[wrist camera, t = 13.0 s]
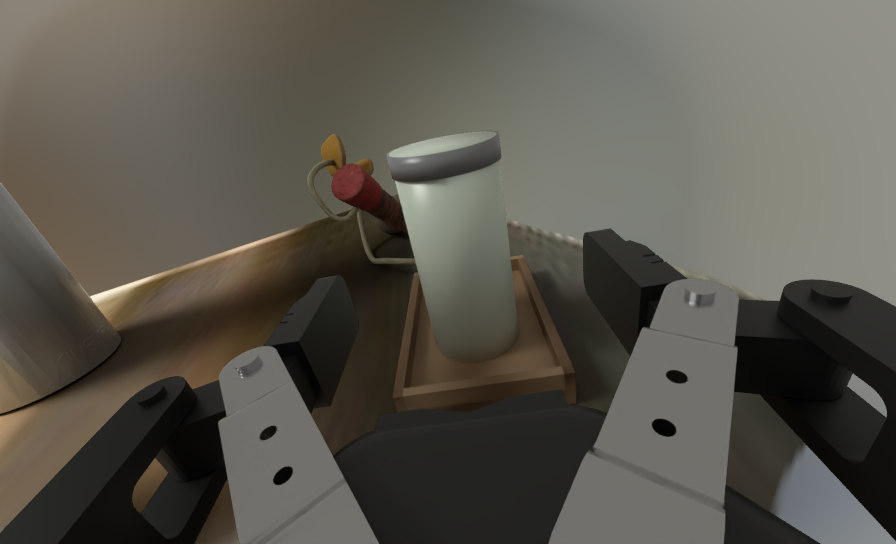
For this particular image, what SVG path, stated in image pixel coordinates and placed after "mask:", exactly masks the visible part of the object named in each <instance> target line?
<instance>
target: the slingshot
mask: <svg viewBox="0 0 896 544" xmlns="http://www.w3.org/2000/svg"><path fill="white" fill-rule="evenodd" d="M321 155H322V157H323V160H324V161H322V162H320V163H318V164H317V165H315V166H314V167H313V169H312V170H311V171H310V173H309V175H308V179H307V185H308V189H309V191H310V193H311V195H312V197H313V198H314V199H315V201H316V202H317V203H318V205H319V206H320V207H321V208H322V210H323V211H324V212H325V213H326V214H327V215H328V216H330V217H331V218H333V219H334V220H336V221H340V222H346V221H349V220H351V219H352V218H353V217H354V216H355V215H356V214H357V217H358V223H359V228H360V232H361V237H362V242H363V245H364V249H365V252H366V254H367V256H368V258H369V260H370V261H371V262H372V263H374V264H399V265H416V262H415V259H408V258H378V259H376V258H375V257H374V256H373V255H372V252H371V250H370V247H369V245H368V241H367V237H366V232H365V227H364V222H363V217H362V211H361V210H364V211H367V212H369V213H370V214H372V215H373V216H375V217H376V218H377V224H378V226H379V228H380V229H381V230H382V231H383V232H385V233H390V234H391V233H398V232H401V231H402V232H405V233H407V234H408V230H407V226H406V222H405V218H404V214H403V210H402V206H401V204H400V203H399V202H398V201H397V200H395V199H394V198H393V197H392V196H390V195H389V194H388V193H387V192H385V191H384V190H383V189H382V188H381V186H380V185H379V184H378V183H377V182H376V181H375V180H374V179H373V178H372V177H371V176H370V175H371V174H372V173H373V170H374V168H373V163H372V161H371V160H370V159H368V158H366V159H363V160H361V161H359V162H357V163H355V164H347V165H345V164H346V157H345V156H346V155H345V150H344V147H343V144H342V142H341V140H340V138H339V137H338V136H337V135H335V134H332V135H331V136H330V137H329V138H328V139H327V140H326V141H325V143H324V144H323V145H322V148H321ZM325 166H326V168H327V170H328V171H329V173H330V174H331V175H332V176H333V177H334V178H333V180H332V192H333V194H334V196H335V197H336V198H338V199H339V200H341V201H343V202H345V203H347V204H349V205H352V206H354V207H353V208H352V210H351V211H350V213H349V214H347V215H346V216H343V217H339V216H336V215H334V214H333V213H332V212H331V211H330V210H329V209H328V208H327V207H326V206H325V204H324V203H323V201H322V200H321V198H320V197H319V195H318V194H317V193H316V191H315V188H314V185H313V182H314V177H315V175H316V173H317V172H318V171H319V170H320V169H322V168H323V167H325Z"/></svg>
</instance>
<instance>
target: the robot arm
mask: <svg viewBox="0 0 896 544" xmlns="http://www.w3.org/2000/svg"><path fill="white" fill-rule="evenodd" d="M583 275H584V284H585V288H586V291H587V293H588V295H589V297H590V298H591V300H592V301H593V303H594V304H595V305H596V307H597V308H598V310H599V311H600V313H601V314H602V316H603V317H604V319H605V320H606V321H607V323H608V324H609V326H610V327H611V329H612V330H613V332H614V333H615V335H616V336H617V337H618V339H619V340H620V342H621V343H622V345H623V346H624V348H625V349H626V351H627V352H628V353H629V355H630V356H631V357H630V359H629V362H628V364H627V367H626V369H625V372H624V374H623V377H622V379H621V381H620V384H619V386H618V389H617V391H616V394H615V396H614V399H613V401H612V404H611V406H610V409H609V411H608V414H607V413H604V412H602V411H599V410H596V409H592V408H589V407H585V406H579V405H572V404H567V403H566V400H565V398H564V395H563V392H562V390H561V389H560V390H553V391H546V392H538V393H531V394H524V395H517V396H513V397H510V398H507V399H505V400H502V401H499V402H496V403H494V404H491V405H488V406H485V407H482V408H480V409H477V410H474V411H471V412H457V411H445V410H433V409H415V410H408V411H401V412H394V413H386V414H379V415H378V419H377V424H376V429H375V430H374V431H372V432H369V433H367V434H365V435H363V436H361V437H359V438H357V439H356V440H354V441H352V442H351V443H349V444H348V445H346V446H345V447H343V448H342V449H341V450H340V451H338V452H337V453H336V454H335V455H334V456H332V454H331V452H330V450H329V448H328V446H327V444H326V443H325V441H324V439H323V437H322V435H321V433H320V431H319V429H318V427H317V426H316V424H315V422H314V420H313V418H312V416H311V413H312V411H313V408H320V407H327V406H331V403H332V400H333V397H334V395H335V392H336V389H337V387H338V384H339V381H340V378H341V376H342V373H343V370H344V368H345V365H346V362H347V359H348V357H349V354H350V351H351V348H352V346H353V343H354V340H355V338H356V335H357V332H358V326H359V323H358V316H357V313H356V310H355V307H354V304H353V302H352V299H351V296H350V294H349V291H348V288H347V285H346V283H345V280H344V279H343V277H342V276H341V275H337V276H331V277H325V278H320V279H317V280H316V281H315V283H314V284H313V286H312V287H311V289H310V290H309V292H308V293H307V294H306V295H304V296H303V297H302V298H301V299H299V300H298V301H297V302H296V303H294V304H293V305H292V306H291V308H290V309H289V311H288V312H287V313H286V316H284V318H283V319H282V320H281V322H280V324H279V325H278V326H277V327H276V329H275V330H274V332H273V333H272V334H271V336H270V337H269V339H268V340H267V341H266V343H265V344H264V346H262V347H257V348H254V349H251V350H248V351H246V352H244V353H242V354H240V355H239V356H237V357H235V358H234V359H233V360H231V361H230V362H229V363H228V364H227V365H226V366H225V367H224V368H223V369H222V371H221V373H220V375H219V380H217V381H215V382H212V383H209V384H206V385H204V386H201V387H198V388H195V389H192V388H191V387H190V386H189V384H188V383H187V381H186V380H185V379H184V378H183V377H180V376H174V377H169V378H165V379H162V380H160V381H157V382H155V383H153V384H151V385H149V386H147V387H146V388H144V389H142V390H141V391H139V392H138V393H136V394H135V395H134V396H133V397H131V398H130V399H129V400H128V401H127V402H126V403H125V404H124V405H123V406H122V407H121V408H120V409H119V410H118V411H117V412H116V413H115V414H114V415H113V416H112V417H111V418H110V419H109V420H108V421H107V423H106V424H105V425H104V426H103V427H102V428H101V429H100V430H99V431H98V432H97V433H96V434H95V435H94V436H93V437H92V438H91V439H90V440H89V441H88V442H87V443H86V444H85V445H84V446H83V447H82V448H81V450H80V451H79V452H78V453H77V454H76V455H75V456H74V457H73V458H72V459H71V460H70V461H69V462H68V463H67V464H66V465H65V466H64V467H63V468H62V469H61V470H60V471H59V472H58V473H57V474H56V475H55V476H54V478H53V479H52V480H51V481H50V482H49V483H48V484H47V485H46V486H45V487H44V488H43V489H42V490H41V491H40V492H39V493H38V494H37V495H36V496H35V497H34V498H33V499H32V500H31V501H30V502H29V503H28V504H27V506H26V507H25V508H24V509H23V510H22V511H21V512H20V513H19V514H18V515H17V516H16V517H15V518H14V519H13V520H12V521H11V522H10V523H9V524H8V525H7V526H6V527H5V528H4V529H3V530H2V531H1V533H0V544H194V543H195V541H196V539H197V537H198V535H199V533H200V531H201V529H202V527H203V525H204V523H205V521H206V519H207V517H208V515H209V513H210V511H211V509H212V507H213V506H214V504H215V502H216V500H217V498H218V496H219V494H220V492H221V490H222V488H223V486H224V484H225V482H226V480H227V478H228V482H229V488H230V494H231V499H232V505H233V511H234V516H235V522H236V528H237V533H238V539H239V544H820V543H818V542H817V541H815V540H814V539H812V538H810V537H809V536H807V535H806V534H804V533H802V532H801V531H799V530H798V529H796V528H794V527H793V526H791V525H789V524H788V523H786V522H785V521H783V520H782V519H780V518H778V517H777V516H775V515H774V514H772V513H770V512H769V511H767V510H766V509H764V508H762V507H761V506H759V505H758V504H756V503H754V502H753V501H751V500H750V499H748V498H746V497H745V496H743V495H742V494H740V493H738V492H737V491H735V490H734V489H732V488H730V487H729V486H727V485H725V484H726V473H727V462H728V450H729V439H730V428H731V417H732V405H733V394H734V392H742V393H752V394H760V395H761V396H762V398H763V399H764V400H765V401H766V402H767V403H768V404H769V405H770V406H771V407H772V408H773V409H774V410H775V412H776V413H777V414H778V415H779V416H780V417H781V418H782V419H783V420H784V421H785V422H786V423H787V424H788V426H789V427H790V428H791V429H792V430H793V431H794V432H795V433H796V434H797V435H798V436H799V437H800V438H801V439H802V441H803V442H804V443H805V444H806V445H807V446H808V447H809V448H810V449H811V450H812V451H813V452H814V453H815V454H816V456H817V457H818V458H819V459H820V460H821V461H822V462H823V463H824V464H825V465H826V466H827V467H828V468H829V470H830V471H831V472H832V473H833V474H834V475H835V476H836V477H837V478H838V479H839V480H840V481H841V483H842V484H843V485H844V486H846V488H847V489H848V490H849V491H850V492H851V493H852V494H853V495H854V497H855V498H856V499H858V501H859V502H860V503H861V504H862V505H863V506H864V507H865V508H866V509H867V510H868V512H869V513H870V514H871V515H872V516H873V517H874V518H875V519H876V520H877V521H878V522H879V523H880V524H881V526H882V527H883V528H884V529H886V531H887V532H888V533H889V534H890V535H891V536H892V537H893V538H894V540H895V541H896V307H895V306H893V305H891V304H890V303H888V302H886V301H884V300H882V299H880V298H878V297H876V296H874V295H872V294H870V293H868V292H866V291H864V290H862V289H859V288H856V287H854V286H851V285H847V284H842V283H839V282H833V281H826V280H800V281H794V282H791V283H789V284H787V285H786V286H785V287H784V289H783V292H782V295H781V299H780V301H758V300H739V298H738V295H737V294H736V293H735V292H734V291H733V290H732V289H730V288H729V287H727V286H725V285H722V284H720V283H717V282H713V281H709V280H702V279H687V278H686V277H684V276H683V275H682V274H681V273H679V272H678V271H677V270H675V269H674V268H673V267H672V266H670V265H669V264H668V263H667V262H664V261H663V259H662V258H660V257H659V256H658V255H655V253H654V252H652V251H651V250H650V249H649V248H648V247H646V246H645V245H642V244H639V243H636V242H633V241H630V240H629V241H625V240H623V239H622V238H621V237H620V236H619V235H617V234H616V233H615V232H614V231H613V230H612V229H604V230H598V231H593V232H587V233H585V234H584V237H583ZM120 342H121V337H120V336H119V334H118V333H117V332H116V331H115V329H114V328H113V327H112V325H111V324H110V323H109V322H108V320H107V319H106V318H105V316H104V315H103V314H102V313H101V311H100V310H99V309H98V307H97V306H96V305H95V303H94V302H93V301H92V299H91V298H90V297H89V295H88V294H87V293H86V291H85V290H84V289H83V288H82V286H81V285H80V284H79V282H78V281H77V280H76V279H75V277H74V276H73V275H72V274H71V272H70V271H69V270H68V268H67V267H66V266H65V264H64V263H63V262H62V261H61V259H60V258H59V257H58V255H57V254H56V253H55V252H54V250H53V249H52V248H51V246H50V245H49V244H48V242H47V241H46V240H45V239H44V237H43V236H42V235H41V234H40V232H39V231H38V230H37V228H36V227H35V226H34V225H33V223H32V222H31V221H30V219H29V218H28V217H27V216H26V214H25V213H24V212H23V210H22V209H21V208H20V206H19V205H18V204H17V203H16V201H15V200H14V199H13V197H12V196H11V195H10V194H9V192H8V191H7V190H6V188H5V187H4V186H3V185H2V183H1V182H0V413H4V412H8V411H10V410H13V409H16V408H19V407H22V406H24V405H27V404H29V403H31V402H34V401H36V400H38V399H41V398H43V397H45V396H47V395H49V394H51V393H53V392H55V391H57V390H59V389H61V388H63V387H64V386H66V385H68V384H70V383H72V382H73V381H75V380H77V379H78V378H80V377H81V376H83V375H85V374H86V373H88V372H89V371H91V370H92V369H94V368H95V367H96V366H98V365H99V364H100V363H102V362H103V361H104V360H105V359H106V358H108V357H109V356H110V355H111V354H112V353H113V352H114V351H115V350H116V348H117V347H118V346H119V344H120ZM853 373H854V374H855V375H856V376H858V377H859V378H860V379H861V380H863V381H864V382H866V383H867V384H868V385H869V386H871V387H872V388H873V389H874V390H875V391H876V392H877V393H878V394H879V395H880V396H881V398H882V400H883V401H884V403H885V405H886V409H887V418H886V417H885V416H883V415H882V414H881V413H880V412H878V411H877V410H876V409H875V408H873V407H872V406H871V405H870V404H869V403H867V402H866V401H865V400H864V399H862V398H861V397H860V396H858V395H857V394H856V393H855V392H853V391H852V390H851V389H850V388H849V387H847V385H848V382H849V380H850V378H851V376H852V374H853ZM154 458H156V459H157V460H158V461H159V463H160V464H161V465H162V466H163V467H164V468H165V469H166V470H167V472H168V474H167V476H166V477H165V479H164V480H163V482H162V483H161V485H160V486H159V487H158V489H157V490H156V492H155V493H154V495H153V496H152V498H151V499H150V501H149V502H148V504H147V505H146V507H145V508H144V510H143V511H142V513H141V514H140V513H139V512H138V511H137V510H136V509H135V508H134V506H133V503H132V494H133V490H134V487H135V485H136V483H137V481H138V480H139V479H140V477H141V476H142V475H143V473H144V472H145V470H146V469H147V468H148V466H149V465H150V464H151V462H152V461H153V460H154Z"/></svg>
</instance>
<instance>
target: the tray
mask: <svg viewBox="0 0 896 544" xmlns="http://www.w3.org/2000/svg"><path fill="white" fill-rule="evenodd" d="M510 258H511V267H512V276H513V285H514V294H515V303H516V312H517V320H518V329H519V334H518V338H517V340H516V342H515V344H514V345H513V346H512V347H511V348H510V349H509V350H508V351H507V352H505V353H504V354H502V355H500V356H498V357H496V358H493V359H490V360H487V361H482V362H474V363H468V362H460V361H456V360H452V359H450V358H448V357H446V356H445V355H443V354H442V353H441V352H440V351H439V349H438V348H437V345H436V341H435V337H434V333H433V329H432V325H431V322H430V318H429V314H428V310H427V306H426V302H425V298H424V294H423V290H422V286H421V282H420V278H419V274H418V272H417V273H414V276H413V282H412V288H411V293H410V299H409V305H408V310H407V316H406V322H405V327H404V333H403V339H402V345H401V350H400V356H399V362H398V367H397V373H396V379H395V384H394V390H393V396H392V399H393V402H394V404H395V407H396V410H397V412H401V411H408V410H415V409H433V410H445V411H457V412H471V411H474V410H477V409H480V408H482V407H485V406H488V405H491V404H494V403H496V402H499V401H502V400H505V399H507V398H510V397H513V396H517V395H524V394H531V393H538V392H546V391H553V390H560V389H561V390H562V392H563V395H564V398H565V400H566V403H567V404H576V373H575V370H574V368H573V366H572V364H571V361H570V359H569V357H568V355H567V352H566V350H565V348H564V346H563V343H562V341H561V339H560V337H559V335H558V332H557V330H556V328H555V326H554V323H553V321H552V319H551V317H550V314H549V312H548V310H547V308H546V306H545V303H544V301H543V299H542V297H541V294H540V292H539V290H538V288H537V285H536V283H535V281H534V279H533V277H532V274H531V272H530V270H529V268H528V265H527V263H526V261H525V259H524V256H523V255H518V256H512V257H510Z"/></svg>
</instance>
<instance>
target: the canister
mask: <svg viewBox="0 0 896 544" xmlns="http://www.w3.org/2000/svg"><path fill="white" fill-rule="evenodd" d="M387 159H388V163H389V167H390V171H391V175H392V178H393V179H394V180H395V182H396V186H397V190H398V194H399V198H400V202H401V206H402V210H403V214H404V218H405V222H406V226H407V230H408V234H409V238H410V242H411V246H412V250H413V254H414V258H415V262H416V266H417V270H418V274H419V278H420V282H421V286H422V290H423V294H424V298H425V302H426V306H427V310H428V314H429V318H430V322H431V325H432V329H433V333H434V337H435V341H436V345H437V348H438V349H439V351H440V352H441V353H442V354H443V355H445V356H446V357H448V358H450V359H452V360H456V361H460V362H468V363H474V362H482V361H487V360H490V359H493V358H496V357H498V356H500V355H502V354H504V353H505V352H507V351H508V350H509V349H510V348H511V347H512V346H513V345H514V344H515V342H516V340H517V338H518V334H519V329H518V320H517V312H516V303H515V294H514V285H513V276H512V267H511V258H510V249H509V240H508V231H507V222H506V213H505V204H504V195H503V186H502V177H501V168H500V159H501V148H500V139H499V133H498V132H496V131H475V132H466V133H459V134H453V135H447V136H442V137H437V138H432V139H428V140H424V141H420V142H416V143H412V144H409V145H406V146H403V147H400V148H398V149H395V150H393V151H391V152H389V153H388V154H387Z"/></svg>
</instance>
